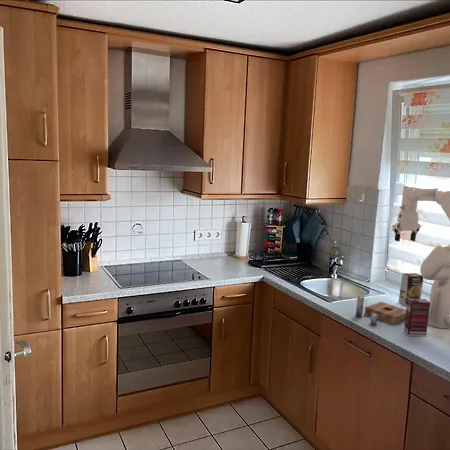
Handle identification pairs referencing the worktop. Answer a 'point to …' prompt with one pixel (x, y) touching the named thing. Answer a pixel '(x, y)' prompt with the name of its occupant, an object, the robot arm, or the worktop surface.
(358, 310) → the long pin
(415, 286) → the coffee box
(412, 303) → the supplement box
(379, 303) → the hole block
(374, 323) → the short pin
